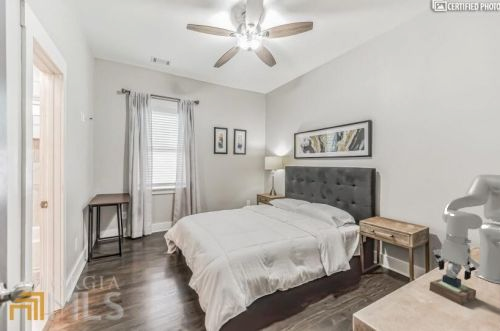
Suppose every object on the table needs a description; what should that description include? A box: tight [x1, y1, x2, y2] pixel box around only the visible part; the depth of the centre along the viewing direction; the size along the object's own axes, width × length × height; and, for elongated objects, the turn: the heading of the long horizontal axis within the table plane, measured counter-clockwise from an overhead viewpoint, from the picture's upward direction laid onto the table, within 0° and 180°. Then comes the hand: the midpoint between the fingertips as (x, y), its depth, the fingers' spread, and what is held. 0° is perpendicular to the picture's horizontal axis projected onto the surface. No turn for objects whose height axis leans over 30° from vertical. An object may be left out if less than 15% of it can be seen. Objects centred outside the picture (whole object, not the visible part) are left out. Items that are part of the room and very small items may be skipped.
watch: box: [441, 261, 463, 288], centre depth 107 cm, size 6×8×11 cm
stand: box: [429, 277, 477, 306], centre depth 106 cm, size 14×12×4 cm
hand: (453, 274), depth 106 cm, fingers open, 9 cm apart
